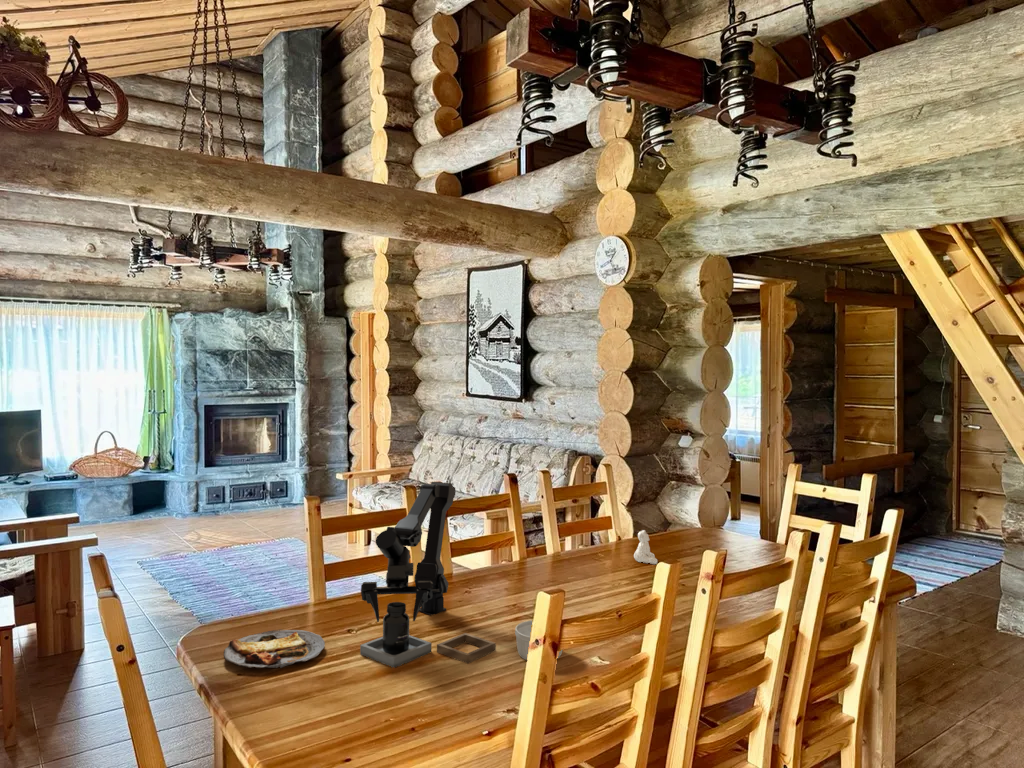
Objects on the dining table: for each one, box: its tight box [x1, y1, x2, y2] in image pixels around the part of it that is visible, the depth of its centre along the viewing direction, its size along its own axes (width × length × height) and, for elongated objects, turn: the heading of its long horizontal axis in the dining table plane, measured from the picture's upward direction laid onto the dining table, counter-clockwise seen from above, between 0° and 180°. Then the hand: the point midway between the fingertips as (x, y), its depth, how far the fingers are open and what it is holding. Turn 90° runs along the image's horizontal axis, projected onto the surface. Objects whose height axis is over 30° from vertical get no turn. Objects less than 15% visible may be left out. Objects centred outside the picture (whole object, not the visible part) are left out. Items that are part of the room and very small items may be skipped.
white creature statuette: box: [633, 529, 658, 565], centre depth 283 cm, size 10×9×12 cm
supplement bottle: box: [382, 601, 410, 654], centre depth 192 cm, size 7×7×12 cm
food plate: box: [223, 629, 326, 669], centre depth 191 cm, size 25×23×4 cm
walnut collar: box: [436, 632, 497, 664], centre depth 194 cm, size 11×11×2 cm
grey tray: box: [359, 634, 433, 669], centre depth 192 cm, size 13×13×2 cm
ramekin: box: [514, 620, 563, 661], centre depth 193 cm, size 13×13×7 cm
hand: (395, 621), depth 191 cm, fingers open, 9 cm apart
